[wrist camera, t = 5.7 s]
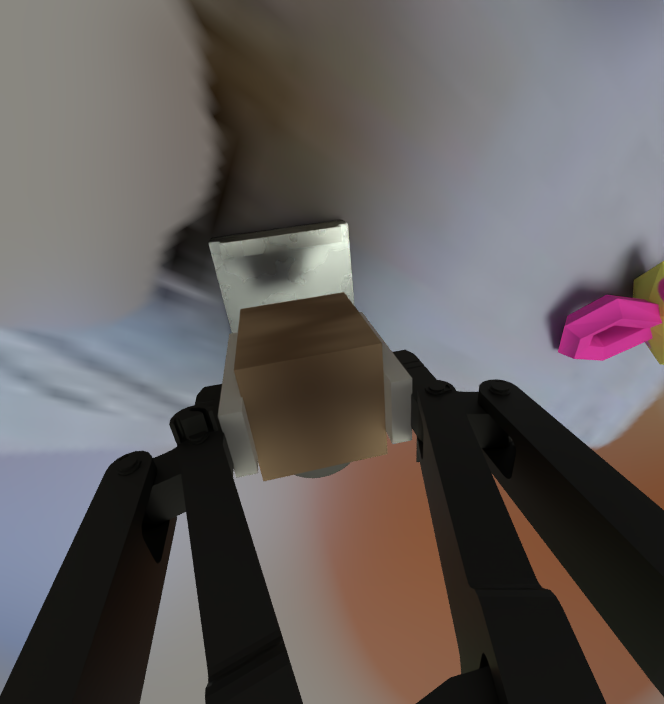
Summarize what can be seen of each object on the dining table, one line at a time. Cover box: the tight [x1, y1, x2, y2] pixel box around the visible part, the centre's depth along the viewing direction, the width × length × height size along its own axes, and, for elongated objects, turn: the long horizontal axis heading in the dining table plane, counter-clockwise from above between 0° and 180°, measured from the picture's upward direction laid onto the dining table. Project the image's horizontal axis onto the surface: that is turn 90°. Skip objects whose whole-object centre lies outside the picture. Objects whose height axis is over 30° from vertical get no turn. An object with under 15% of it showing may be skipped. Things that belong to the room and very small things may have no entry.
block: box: [234, 292, 387, 481], centre depth 16 cm, size 5×5×6 cm
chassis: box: [209, 220, 354, 333], centre depth 29 cm, size 10×16×4 cm, turn 6°
